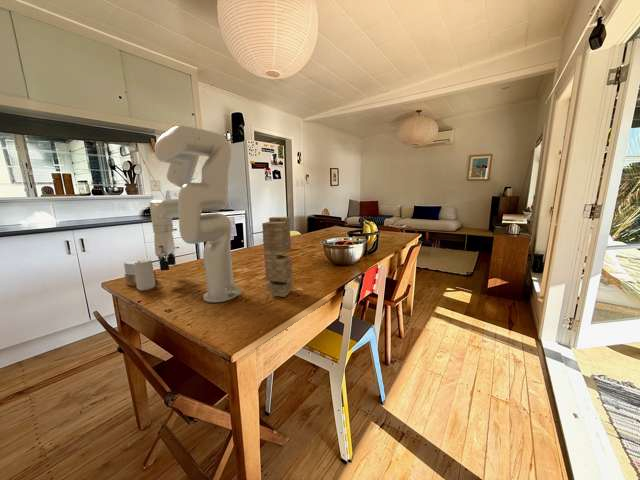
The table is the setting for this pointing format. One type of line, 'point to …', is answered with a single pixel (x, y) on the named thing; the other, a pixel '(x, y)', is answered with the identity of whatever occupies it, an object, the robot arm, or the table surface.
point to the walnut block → (134, 279)
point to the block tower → (277, 255)
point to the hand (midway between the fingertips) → (168, 267)
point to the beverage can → (144, 274)
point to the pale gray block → (130, 267)
